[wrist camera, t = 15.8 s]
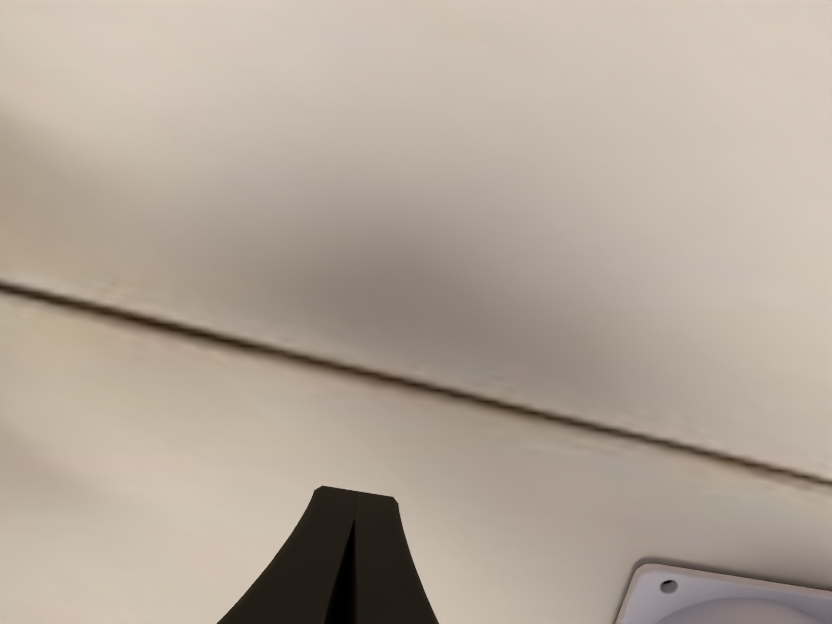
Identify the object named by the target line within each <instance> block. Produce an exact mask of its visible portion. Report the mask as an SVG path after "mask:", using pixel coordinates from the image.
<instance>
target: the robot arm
mask: <svg viewBox="0 0 832 624" xmlns="http://www.w3.org/2000/svg"><path fill="white" fill-rule="evenodd" d="M666 580H672V582H670V583H668V584H662V583H663V582H664V581H666ZM217 624H439V623H438V620H437V618H436V616H435V614H434V612H433V610H432V608H431V605H430V603H429V601H428V598H427V596H426V594H425V591H424V589H423V586H422V583H421V581H420V578H419V576H418V573H417V570H416V568H415V565H414V562H413V559H412V557H411V554H410V550H409V547H408V544H407V541H406V537H405V534H404V530H403V526H402V522H401V518H400V513H399V506H398V503H397V501H396V500H395V499H394V497H390V496H384V495H377V494H371V493H365V492H359V491H352V490H346V489H340V488H333V487H327V486H321V487H319V488H318V489H316V490H315V491H314V493H313V496H312V499H311V501H310V503H309V505H308V507H307V509H306V510H305V512H304V514H303V516H302V517H301V519H300V521H299V522H298V524H297V526H296V527H295V529H294V530H293V532H292V533H291V535H290V536H289V538H288V539H287V540H286V542H285V543H284V545H283V546H282V547H281V549H280V550H279V552H278V553H277V554H276V556H275V557H274V559H273V560H272V561H271V563H270V564H269V565H268V566H267V568H266V569H265V570H264V571H263V572H262V574H261V575H260V576H259V577H258V578H257V580H256V581H255V582H254V583H253V584H252V586H251V587H250V588H249V589H248V590H247V592H246V593H245V594H244V595H243V596H242V597H241V599H240V600H239V601H238V602H237V603H236V604H235V605H234V606H233V607H232V608H231V609H230V610H229V611H228V613H227V614H226V615H225V616H224V617H223V618H222V619H221V620H220V621H219V622H218V623H217ZM615 624H832V591H826V590H820V589H813V588H807V587H801V586H794V585H788V584H782V583H775V582H769V581H762V580H756V579H750V578H743V577H737V576H731V575H724V574H718V573H712V572H705V571H699V570H693V569H686V568H680V567H674V566H667V565H661V564H645V565H642V566H641V567H639V568H638V569H637V570H636V572H635V573H634V575H633V578H632V581H631V583H630V586H629V589H628V591H627V594H626V597H625V599H624V602H623V605H622V607H621V610H620V613H619V615H618V618H617V621H616V623H615Z"/></svg>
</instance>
